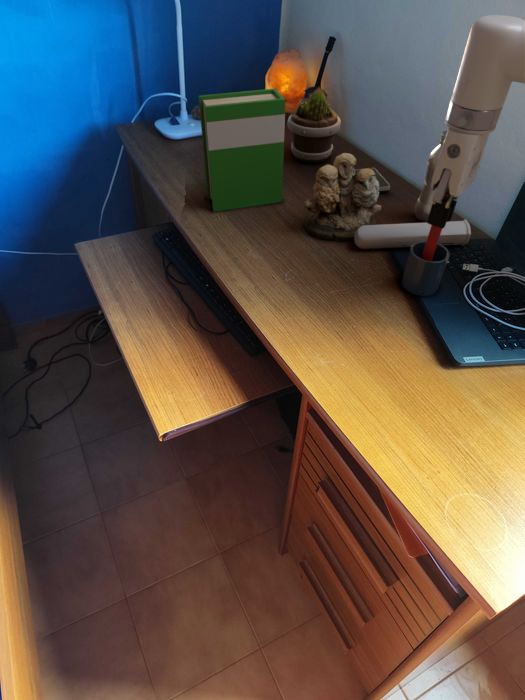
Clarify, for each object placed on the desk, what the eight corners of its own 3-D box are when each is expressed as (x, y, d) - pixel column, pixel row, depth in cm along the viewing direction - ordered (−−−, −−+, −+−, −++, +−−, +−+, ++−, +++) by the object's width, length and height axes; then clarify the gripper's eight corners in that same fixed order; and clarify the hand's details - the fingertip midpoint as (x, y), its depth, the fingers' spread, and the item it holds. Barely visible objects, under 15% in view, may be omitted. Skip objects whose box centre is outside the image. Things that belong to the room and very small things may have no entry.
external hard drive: (373, 174, 128) (374, 167, 127) (389, 193, 121) (391, 186, 119) (349, 177, 127) (350, 170, 126) (364, 196, 120) (365, 189, 118)
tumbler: (443, 282, 95) (455, 249, 89) (429, 300, 91) (440, 267, 85) (410, 269, 98) (419, 236, 92) (395, 286, 94) (404, 253, 88)
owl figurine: (308, 245, 104) (315, 171, 92) (296, 218, 112) (300, 147, 100) (384, 237, 107) (400, 164, 94) (366, 211, 115) (379, 140, 102)
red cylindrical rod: (433, 259, 91) (455, 192, 80) (428, 264, 89) (451, 197, 79) (423, 256, 91) (444, 189, 81) (419, 261, 90) (439, 193, 80)
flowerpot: (285, 145, 141) (288, 71, 127) (335, 146, 141) (344, 72, 127) (284, 166, 131) (288, 89, 117) (339, 167, 131) (349, 90, 117)
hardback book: (213, 211, 114) (205, 107, 97) (207, 197, 119) (198, 95, 102) (281, 201, 118) (285, 99, 100) (273, 188, 123) (275, 88, 105)
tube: (358, 239, 99) (473, 234, 100) (354, 220, 101) (466, 215, 102) (353, 255, 104) (463, 249, 105) (350, 235, 106) (457, 231, 107)
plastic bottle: (422, 208, 116) (446, 125, 101) (445, 220, 112) (473, 135, 97) (406, 217, 113) (428, 133, 98) (429, 229, 109) (455, 143, 95)
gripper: (479, 138, 65) (441, 249, 78) (512, 106, 74) (473, 210, 87) (429, 125, 68) (400, 234, 81) (466, 95, 77) (435, 198, 90)
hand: (438, 221), depth 84 cm, fingers closed on red cylindrical rod, 2 cm apart
